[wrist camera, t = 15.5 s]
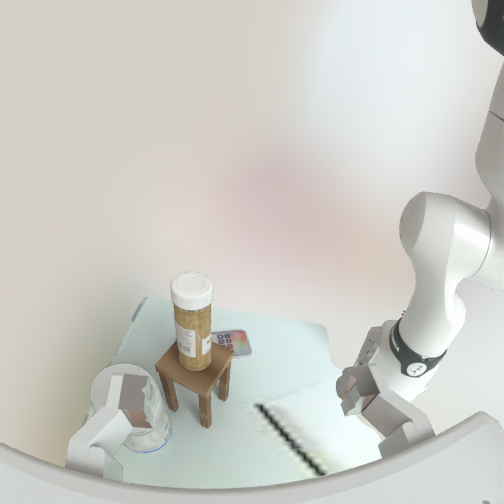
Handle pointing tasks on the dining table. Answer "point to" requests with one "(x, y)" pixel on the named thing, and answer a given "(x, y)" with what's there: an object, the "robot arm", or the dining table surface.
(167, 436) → the supplement tub
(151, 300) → the dining table surface
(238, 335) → the smartphone
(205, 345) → the sprinkles bottle
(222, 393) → the stool
